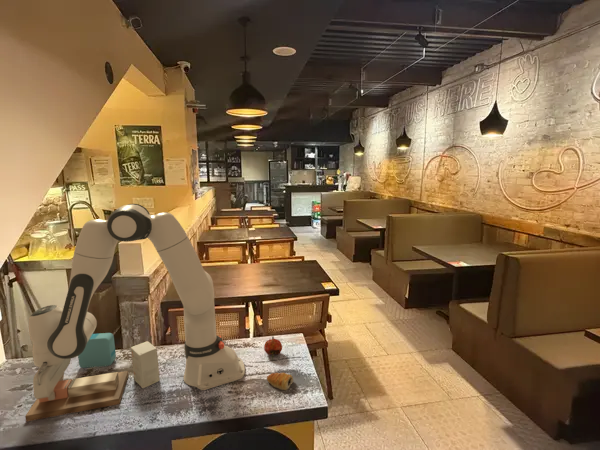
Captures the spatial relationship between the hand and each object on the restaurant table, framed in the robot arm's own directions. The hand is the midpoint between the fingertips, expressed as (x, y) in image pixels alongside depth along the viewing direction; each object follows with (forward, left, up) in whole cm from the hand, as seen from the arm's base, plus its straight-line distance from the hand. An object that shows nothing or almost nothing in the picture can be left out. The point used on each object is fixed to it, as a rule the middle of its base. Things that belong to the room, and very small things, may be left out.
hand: (56, 392), depth 113 cm
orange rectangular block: (0, 0, -1) cm, 1 cm away
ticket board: (-7, 0, -3) cm, 8 cm away
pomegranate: (-75, -5, -3) cm, 76 cm away
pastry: (-74, +14, -4) cm, 75 cm away
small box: (-27, -3, -3) cm, 28 cm away
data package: (-7, -20, -3) cm, 22 cm away
